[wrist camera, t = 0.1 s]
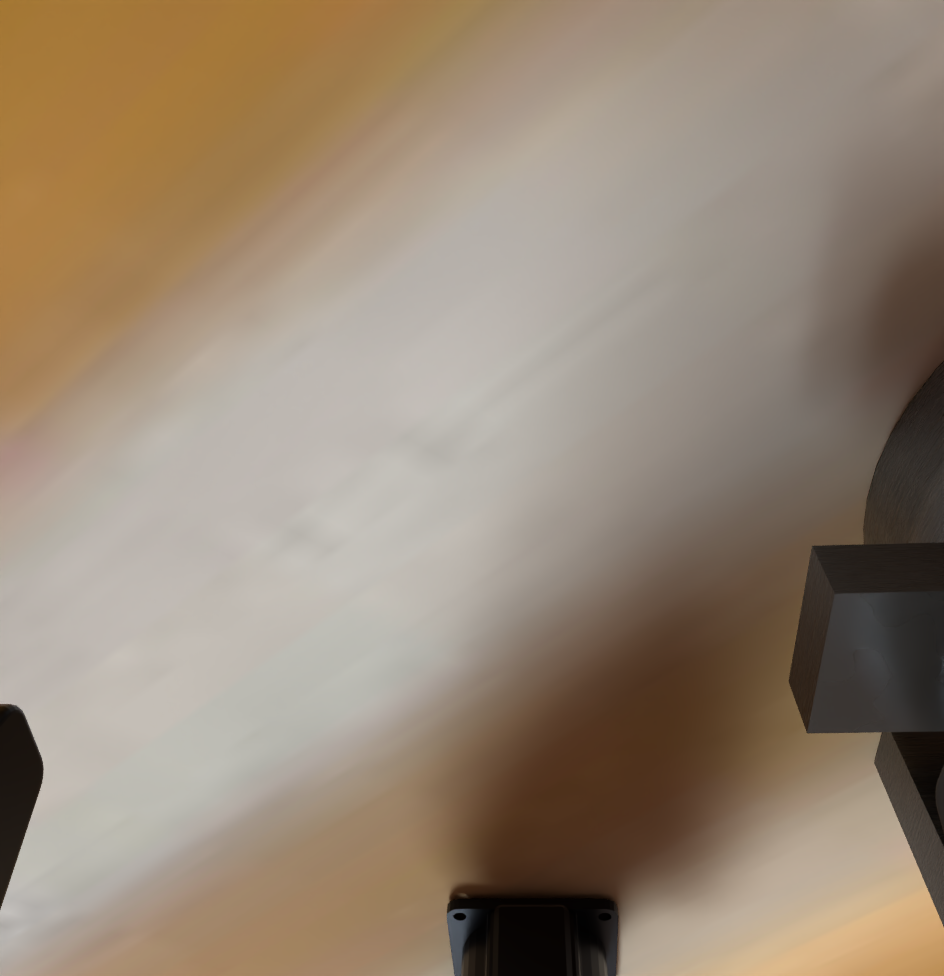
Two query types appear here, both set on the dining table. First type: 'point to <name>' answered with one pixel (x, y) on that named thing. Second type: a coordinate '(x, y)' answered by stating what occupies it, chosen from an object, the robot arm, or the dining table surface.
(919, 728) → the cooker
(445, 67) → the dining table surface
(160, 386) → the dining table surface
